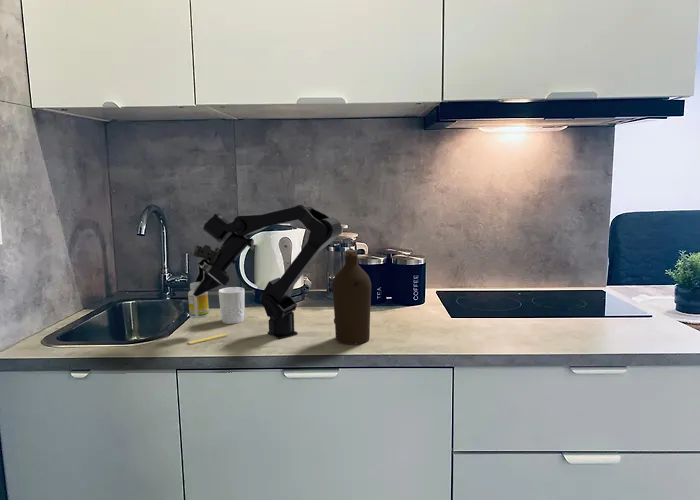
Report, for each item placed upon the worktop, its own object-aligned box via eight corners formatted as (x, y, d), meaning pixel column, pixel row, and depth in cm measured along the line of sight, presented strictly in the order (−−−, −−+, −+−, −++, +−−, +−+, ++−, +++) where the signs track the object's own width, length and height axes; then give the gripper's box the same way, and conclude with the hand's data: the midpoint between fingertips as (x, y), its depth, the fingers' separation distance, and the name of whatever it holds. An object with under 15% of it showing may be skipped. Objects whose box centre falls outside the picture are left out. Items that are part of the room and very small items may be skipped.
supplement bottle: (187, 319, 149) (184, 285, 148) (192, 313, 154) (190, 281, 153) (206, 318, 149) (203, 285, 148) (211, 313, 154) (209, 281, 153)
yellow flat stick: (224, 334, 153) (224, 333, 153) (227, 335, 152) (227, 334, 152) (187, 343, 146) (187, 342, 146) (190, 344, 145) (190, 343, 145)
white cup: (235, 316, 172) (233, 285, 170) (251, 320, 167) (249, 289, 166) (215, 321, 166) (213, 290, 164) (230, 326, 161) (229, 294, 160)
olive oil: (379, 339, 147) (379, 250, 143) (351, 348, 140) (350, 255, 136) (353, 330, 155) (352, 246, 151) (325, 339, 148) (323, 250, 144)
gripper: (202, 230, 158) (166, 270, 155) (214, 236, 141) (174, 282, 139) (230, 253, 163) (195, 293, 160) (245, 263, 146) (207, 307, 143)
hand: (192, 293), depth 150 cm, fingers closed on supplement bottle, 5 cm apart
